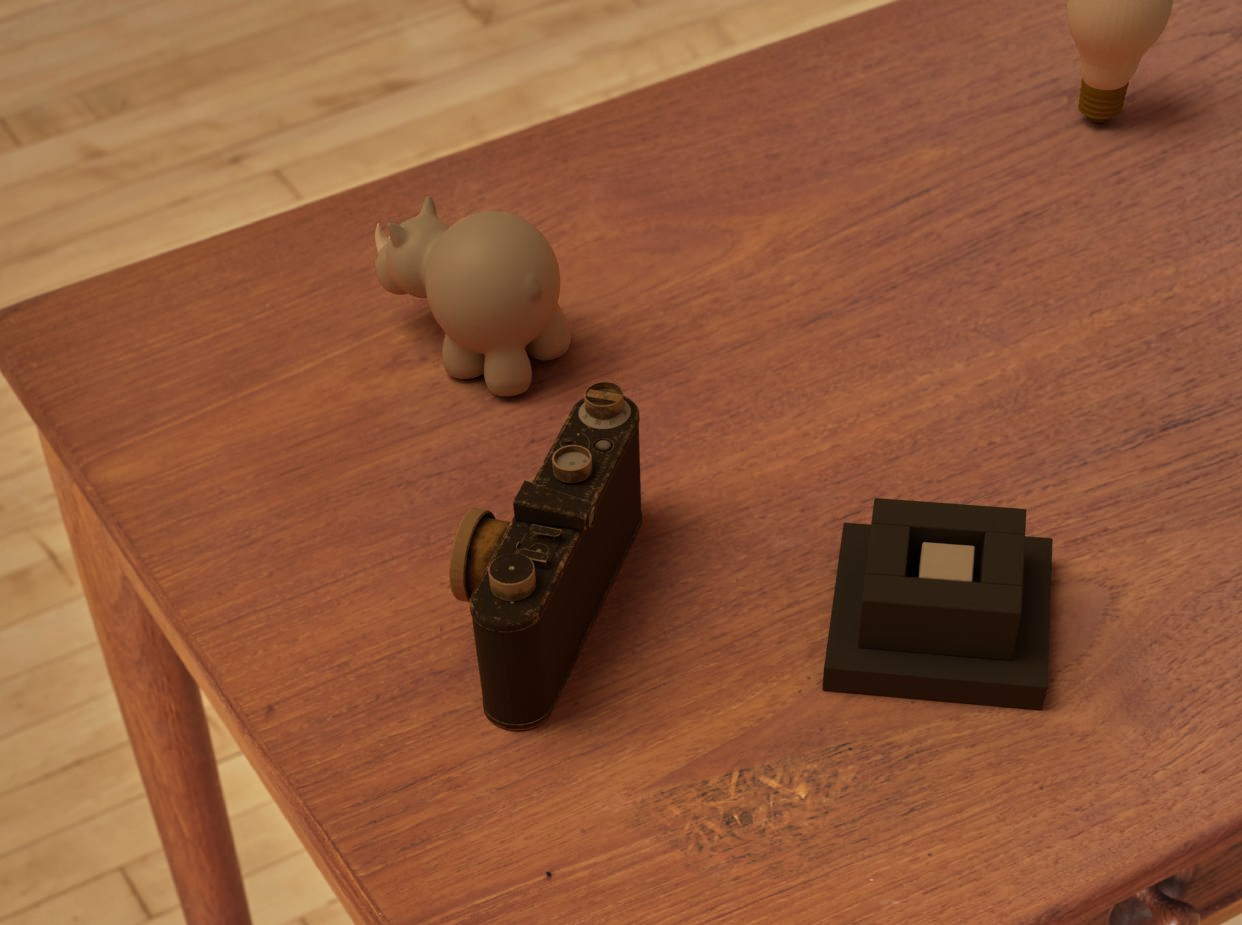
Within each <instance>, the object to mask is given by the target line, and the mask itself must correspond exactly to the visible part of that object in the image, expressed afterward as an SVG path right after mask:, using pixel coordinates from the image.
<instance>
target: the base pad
mask: <svg viewBox="0 0 1242 925" xmlns="http://www.w3.org/2000/svg"><path fill="white" fill-rule="evenodd" d="M870 530H871V523H856V522H854V523H853V522H843V524H842V531H841V539H840V545H839V554H838V559H837V560H838V561H837V568H836V577H835V584H834V589H833V598H832V604H831V613H830V620H829V627H828V628H829V629H828V633H827V634H828V635H827V643H826V651H825V658H824V663H823V664H824V665H823V675H822V677H823V678H822V688H821V689H822V690H823V691H826V692H827V691H829V692H840V693H849V694H850V693H851V694H862V695H871V696H872V695H873V696H884V697H894V698H895V697H896V698H904V699H905V698H907V699H917V700H928V701H937V702H938V701H939V702H950V703H960V704H970V705H971V704H972V705H982V706H983V705H984V706H992V707H993V706H995V707H1005V708H1017V709H1029V710H1039V711H1041V710H1043V709H1044V705H1045V701H1046V700H1045V699H1046V696H1047V691H1048V684H1049V683H1048V682H1049V656H1050V655H1049V654H1050V653H1049V652H1050V627H1051V626H1050V624H1051V623H1050V622H1051V599H1052V598H1051V595H1052V569H1053V568H1052V567H1053V543H1054V542H1053V540H1054V539H1053V538H1052V537H1041V536H1027V535H1025V551H1024V572H1023V587H1022V588H1023V591H1022V612H1021V618H1020V623H1019V628H1018V633H1017V638H1016V643H1015V648H1014V653H1013V658H1012V660H1010V661H1009V660H997V659H985V658H974V657H962V656H951V655H939V654H928V653H916V652H904V651H893V650H881V649H870V648H859V647H858V646H857V643H858V634H859V624H860V614H861V605H862V596H863V588H864V580H865V571H866V563H867V555H868V547H869V539H870ZM974 554H975V547H974V546H967V545H954V544H941V543H928V542H923V544H922V549H921V556H920V564H919V571H918V575H917V574H906V575H905V577H913V578H926V579H938V580H951V581H963V582H976V583H977V579H973V568H974Z"/></svg>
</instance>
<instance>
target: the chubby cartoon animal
mask: <svg viewBox="0 0 1242 925" xmlns="http://www.w3.org/2000/svg"><path fill="white" fill-rule="evenodd" d="M435 204H436V203H435V202H434V199H433V197H432V196H431V195H429V194H428V195H427V196H425V198H424V200H423V203H422V206H421V210H420V212H419V213H418V214H417V215H416V216H413V217H411V218H409V219H407V220H404V221H403V222H402V223H400V224H398V223H395V222H392V221H389V222H388V223H387V225H386V227H387V232H388V236H387V235H386V233H385V232H384V230H383V228H382V226H381V223H379V222H377V224H376V229H375V233H374V241H375V242H374V243H375V247H376V252H377V254H376V255H377V258H376V259H375V261H374V265H373V266H374V269H375V274H376V278H377V280H378V282H379V283H380V285H381V286H382V288H384V289H385V290H386V291H388V292H389V293H391V294H393V295H397V296H398V295H399V296H403V295H410V296H412V297H415V298H418V299H427V303H428V306H429V309H430V311H431V313H432V315H433V317H434V319H435V321H436V322H437V324H438V325H439V327H440V328H441V329H442V330H443V331H444V333H445V335H444V339H443V342H442V348H441V360H442V364H443V368H444V369H445V371H446V373H447V374H448V375H449V376H451V377H452V378H455V379H460V380H469V379H474V378H478V377H480V376H482V375H483V376H484V381H485V385H486V387H487V389H488V391H489V392H490V393H492V394H493V395H495V396H497V397H513V396H514V397H515V396H518V395H521V394H523V393H524V392H526V391H527V390H529V388H530V386H531V383H532V381H533V380H532V379H533V371H532V370H533V369H532V365H531V361H530V359H529V355H530V356H531V358H534V359H536V360H537V361H538V360H539V361H550V360H554V359H557V358H560V357H562V356H563V355H565V354H566V353H567V352H568V350H569V348H570V345H571V330H570V329H571V328H570V325H569V321H568V319H567V316H566V314H565V313H564V311H563V309H562V308H561V306H560V305H559V299H560V294H561V272H560V266H559V263H558V259H557V256H556V254H555V250H554V249H553V247H552V246H551V244H550V243H549V240H548V239H547V238H546V236H545V235H544V233H542V232H541V231H540V230H539V229H538V228H537V227H536V226H535V225H534V224H532V222H529V221H528V220H527V219H525V218H523V217H522V216H519V215H516V214H514V213H511V212H507V211H501V210H482V211H478V212H474V213H471V214H469V215H465V216H464V217H462V218H460V219H459V220H457V221H456V222H454V223H453V224H452V225H450V226H449V225H448V224H447V223H445V222H444V221H442V220H441V219H440V218H439V217H438V214H437V209H436V205H435ZM528 354H529V355H528Z"/></svg>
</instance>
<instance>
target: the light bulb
mask: <svg viewBox="0 0 1242 925" xmlns="http://www.w3.org/2000/svg"><path fill="white" fill-rule="evenodd" d="M1173 4H1174V0H1067V6H1066V20H1067V21H1066V22H1067V26H1068V30H1069V33H1070V36H1071V38H1072V40H1073V43H1074V44H1075V46H1076V49H1077V51H1078V54H1079V64H1080V65H1079V67H1080V68H1079V70H1080V75H1081V81H1080V82H1081V83H1080V89H1079V91H1080V92H1079V99H1078V105H1077V107H1078V111H1079V113H1080V114H1082V115H1083V116H1085V117H1087V119H1088V120H1089V121H1091V122H1092V123H1094V124H1103V123H1106V122H1107V121H1109V120H1111V119H1113V118H1116V117H1118V116H1119V115H1120V114H1121V113H1122V112H1123V108H1124V105H1125V100H1126V95H1127V92H1128V91H1127V90H1128V87H1129V86H1130V81H1131V80H1132V79H1133V77H1134V75H1135V74H1136V72H1137V70H1138V67H1139V65H1140V63H1141V60H1142V59H1143V57H1144V56H1145V54H1146V53H1147V52H1148V51H1149V50H1150V48H1151V47H1153V46H1154V45H1155V43H1156V42H1157V41H1158V40H1159V38H1160V37H1161V35H1162V34H1163V33H1164V31H1165V29H1166V27H1167V25H1168V23H1169V20H1170V18H1171V15H1172V10H1173Z"/></svg>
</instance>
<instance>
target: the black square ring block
mask: <svg viewBox="0 0 1242 925" xmlns="http://www.w3.org/2000/svg"><path fill="white" fill-rule="evenodd" d="M870 524H871V530H870V539H869V547H868V555H867V563H866V571H865V580H864V588H863V596H862V605H861V614H860V624H859V634H858V643H857V646H858V647H859V648H870V649H881V650H893V651H904V652H916V653H928V654H939V655H951V656H962V657H974V658H985V659H997V660H1009V661H1010V660H1012V658H1013V653H1014V648H1015V643H1016V638H1017V633H1018V628H1019V623H1020V618H1021V612H1022V591H1023V588H1022V587H1023V572H1024V551H1025V536H1026V529H1027V528H1026V527H1027V509H1026V508H1018V507H1005V506H994V505H993V506H991V505H990V506H989V505H979V504H977V505H976V504H965V503H951V502H937V501H936V502H935V501H922V500H910V499H895V498H884V497H883V498H882V497H875V498H874V499H873V507H872V516H871V523H870ZM923 542H928V543H941V544H954V545H967V546H974V547H975V554H974V568H973V579H977V583H976V582H963V581H951V580H938V579H926V578H913V577H905V575H906V574H917V575H918V571H919V564H920V556H921V549H922V544H923Z"/></svg>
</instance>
